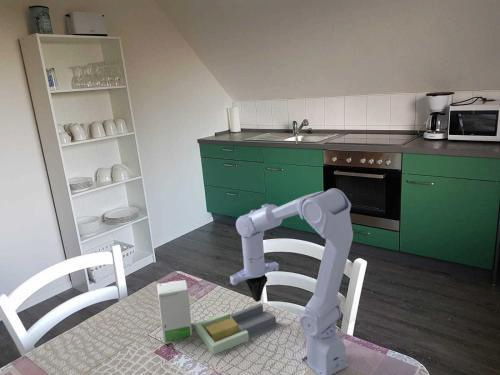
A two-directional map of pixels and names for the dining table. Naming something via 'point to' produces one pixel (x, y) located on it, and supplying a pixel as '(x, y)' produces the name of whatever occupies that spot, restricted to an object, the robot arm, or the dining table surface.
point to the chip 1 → (216, 332)
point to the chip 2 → (230, 327)
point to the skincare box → (174, 310)
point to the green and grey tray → (248, 322)
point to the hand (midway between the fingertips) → (256, 299)
